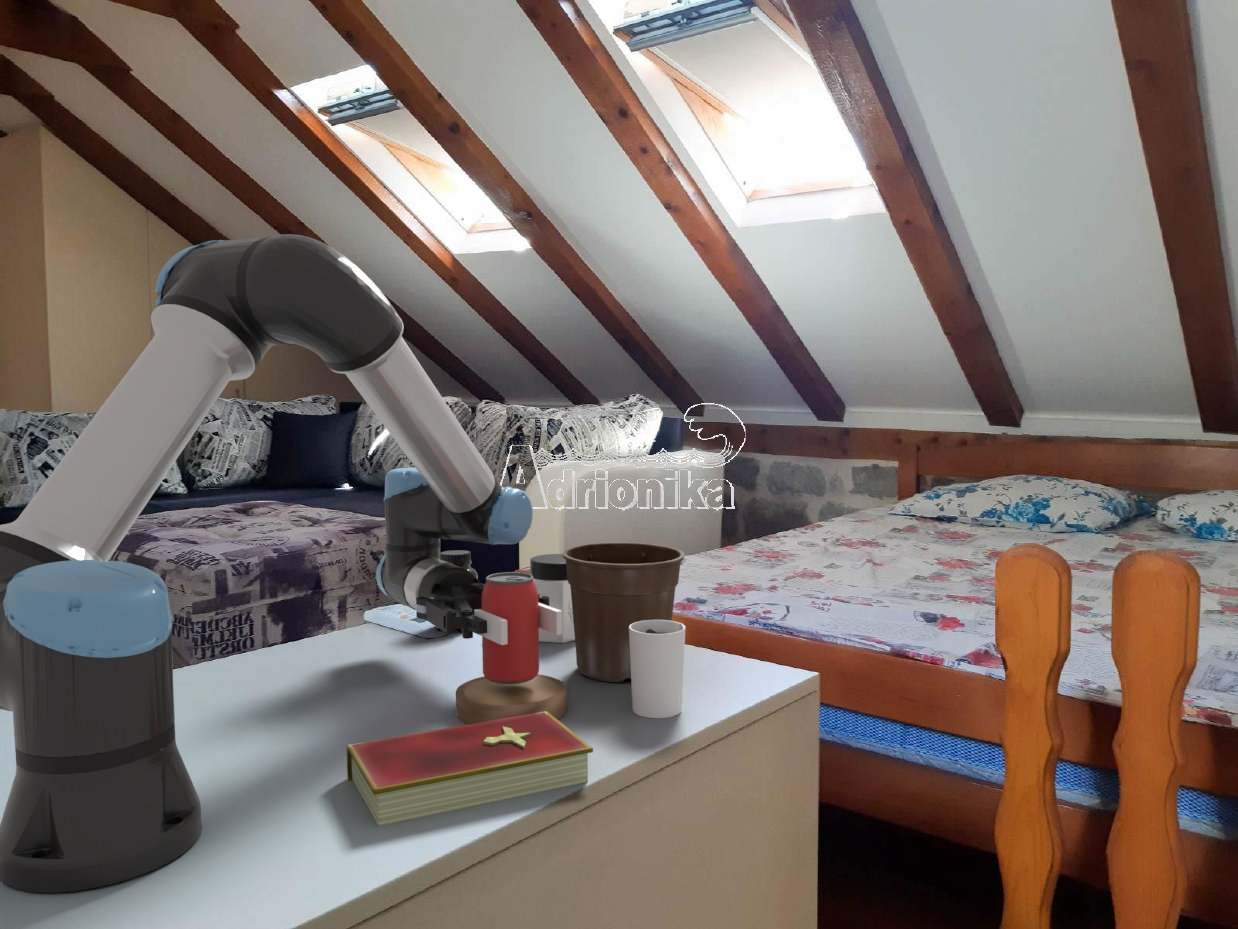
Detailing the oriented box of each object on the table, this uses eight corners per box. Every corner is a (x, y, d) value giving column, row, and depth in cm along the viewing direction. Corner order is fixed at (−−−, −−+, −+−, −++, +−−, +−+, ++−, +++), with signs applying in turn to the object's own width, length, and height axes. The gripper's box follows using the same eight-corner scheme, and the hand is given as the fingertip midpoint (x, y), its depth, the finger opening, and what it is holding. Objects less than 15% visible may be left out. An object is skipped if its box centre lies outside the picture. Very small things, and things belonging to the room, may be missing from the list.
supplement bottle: (487, 625, 152) (486, 551, 151) (458, 635, 147) (457, 557, 146) (455, 619, 156) (454, 547, 155) (425, 628, 150) (424, 553, 149)
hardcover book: (347, 782, 94) (346, 740, 93) (545, 745, 103) (545, 707, 103) (375, 834, 83) (373, 787, 83) (593, 787, 93) (593, 745, 92)
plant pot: (702, 662, 132) (703, 547, 130) (652, 696, 118) (652, 567, 116) (599, 647, 139) (598, 538, 138) (540, 678, 125) (539, 556, 124)
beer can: (529, 687, 109) (528, 583, 108) (474, 684, 110) (473, 581, 109) (545, 670, 115) (544, 572, 114) (493, 667, 116) (492, 570, 115)
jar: (552, 647, 140) (551, 566, 139) (517, 636, 146) (517, 558, 145) (597, 635, 146) (597, 558, 145) (562, 626, 152) (561, 551, 151)
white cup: (620, 715, 111) (620, 631, 110) (639, 697, 117) (639, 617, 116) (675, 722, 109) (676, 636, 108) (691, 704, 115) (692, 622, 114)
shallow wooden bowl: (488, 739, 104) (488, 716, 104) (437, 706, 114) (436, 685, 114) (588, 714, 111) (587, 693, 111) (531, 685, 122) (531, 666, 122)
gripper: (508, 609, 132) (603, 646, 114) (373, 630, 121) (454, 676, 102) (507, 555, 132) (603, 584, 113) (372, 572, 120) (453, 607, 102)
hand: (532, 627), depth 108 cm, fingers closed on beer can, 6 cm apart
